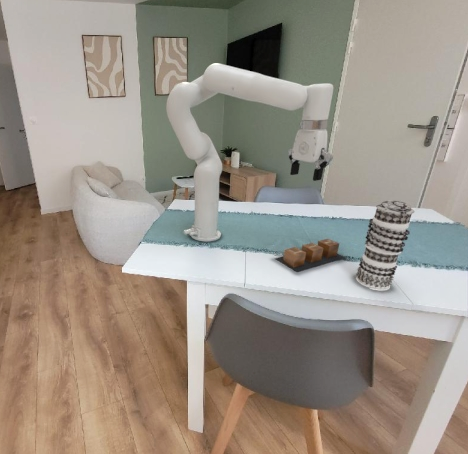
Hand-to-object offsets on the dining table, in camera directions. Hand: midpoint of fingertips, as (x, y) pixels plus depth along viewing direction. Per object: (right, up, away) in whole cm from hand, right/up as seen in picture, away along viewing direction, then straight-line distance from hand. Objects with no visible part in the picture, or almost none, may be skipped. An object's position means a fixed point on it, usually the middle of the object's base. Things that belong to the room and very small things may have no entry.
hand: (305, 177), depth 101 cm
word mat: (+1, -29, 0) cm, 29 cm away
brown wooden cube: (-6, -30, -3) cm, 30 cm away
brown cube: (+2, -28, -1) cm, 28 cm away
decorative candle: (+13, -34, -14) cm, 39 cm away
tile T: (+9, -27, +2) cm, 28 cm away
